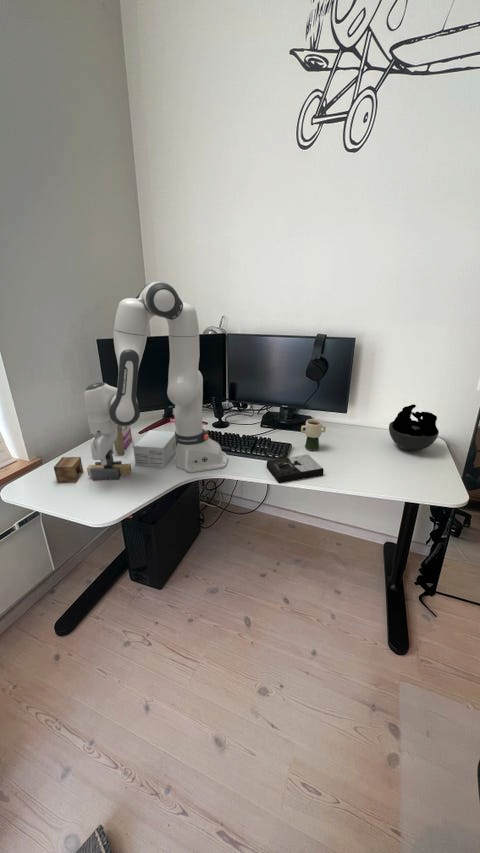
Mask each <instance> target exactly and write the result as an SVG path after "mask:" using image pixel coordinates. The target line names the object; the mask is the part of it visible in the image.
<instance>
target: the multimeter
mask: <svg viewBox="0 0 480 853" xmlns="http://www.w3.org/2000/svg"><path fill="white" fill-rule="evenodd" d="M266 469H267V470H268V472H269V473H270V475H271V476H272V477H273V478H274V480H275V482H277V483H278V484H283V483H289V482H295V481H300V480H306V479H311V478H312V479H313V478H319V477H323V476H324V472H325V471H324V468H323V467H322V465H320V464H319V463H318V462H317V461H316V460H315V459H314V458H313V457H312V456H311V455H310V454H307V453H306V454H301V455H294V456H288V457H283V458H281V457H280V458H275V459H269V460H266Z"/></svg>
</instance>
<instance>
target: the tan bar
mask: <svg viewBox="0 0 480 853" xmlns="http://www.w3.org/2000/svg"><path fill="white" fill-rule="evenodd" d="M105 458H106V459H107V462H108V463H107V464H106V465H95V464H89V465H88V466H87V467H86V471H87V472H86V473H87V476H88V477H90V476H91V477H92V473H91V468H105V467H118V469H119V475H121V476H123V475H131V473H132V471H133V470H132V463H122V464H114V461H115V460H114V454H113V455H112V450H110V451H108V453H107V454H106V457H105Z"/></svg>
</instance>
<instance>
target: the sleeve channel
mask: <svg viewBox="0 0 480 853" xmlns="http://www.w3.org/2000/svg"><path fill="white" fill-rule="evenodd" d="M113 461H114V464H123V463H122V460H119V461H118V460H117V461H115V460H113ZM94 465H102V464H101V461H95V462H94ZM91 473H92V476H91V477H92V478H91V479H92V481H93V482H95V481H96V482H97V481H100V482H101V481H119V480H120V479H121V477H122V475H119V469H118V467H105V468H91Z"/></svg>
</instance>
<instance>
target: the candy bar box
mask: <svg viewBox="0 0 480 853" xmlns="http://www.w3.org/2000/svg"><path fill="white" fill-rule="evenodd" d="M121 432H122V436H123V441H124V451H126V450H127V448H128V447H129V446H130V444H131V443H132V441H133V437H132V430H131V425H129V426H123V427H121ZM113 448H114V450H115V451H116V449H115V445H114V447H113Z"/></svg>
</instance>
